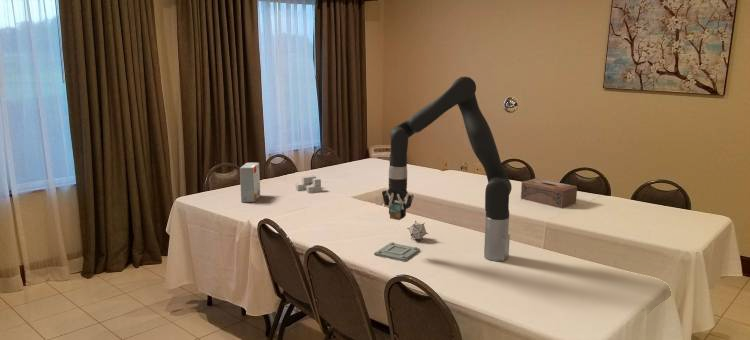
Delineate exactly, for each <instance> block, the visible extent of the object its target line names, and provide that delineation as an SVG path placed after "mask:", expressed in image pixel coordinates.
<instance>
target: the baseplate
mask: <svg viewBox="0 0 750 340" xmlns="http://www.w3.org/2000/svg"><path fill="white" fill-rule="evenodd" d="M420 251H421V249H420V247H417V246H411V245H404V244H400V243H396V242H392V241H391V242H389V243H388V244H386V245H385V246H383V247H382V248H380V249H378V250H377V251H375V252H374V253H373V254H374V256H377V257H380V258H381V257H382V258H387V259H390V260H395V261H400V262H406V261H407V260H409V259H410V258H412V256H414V255H416V254H417V253H419V252H420Z"/></svg>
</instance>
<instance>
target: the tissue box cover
mask: <svg viewBox="0 0 750 340" xmlns="http://www.w3.org/2000/svg"><path fill="white" fill-rule="evenodd" d="M520 191H521V192H520V199H521V200H525V201H529V202H533V203H537V204H542V205H544V206H545V205H546V206H550V207H555V208H558V209H564V208H567V207H569V206H574V205H576V204H577V197H578V196H577V194H578V186H576V185H571V184H567V183H562V182H561V183H560V182H556V181H552V180H547V179H542V178H538V177H535V178H532V179H528V180H525V181H521V190H520Z"/></svg>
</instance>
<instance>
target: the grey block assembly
mask: <svg viewBox="0 0 750 340" xmlns="http://www.w3.org/2000/svg"><path fill="white" fill-rule="evenodd" d="M295 191H298V192H302V191H306V193H308V194H314V193H321V192H322V179H321V178H319V177H317V176H316V175H314V174H313V175H305V176H301V182H300V183H295Z"/></svg>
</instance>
